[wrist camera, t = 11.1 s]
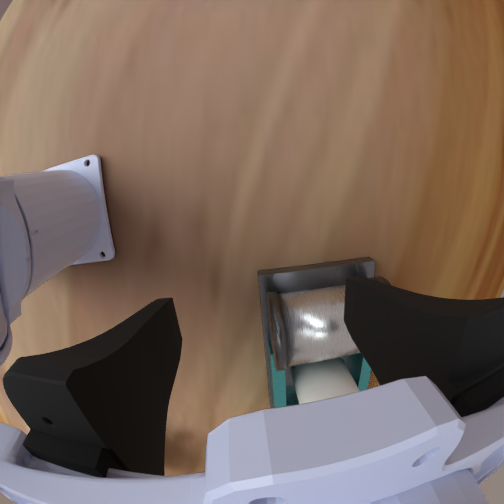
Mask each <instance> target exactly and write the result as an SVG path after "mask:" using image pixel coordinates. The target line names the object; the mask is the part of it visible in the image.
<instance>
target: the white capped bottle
mask: <svg viewBox="0 0 504 504" xmlns="http://www.w3.org/2000/svg"><path fill="white" fill-rule="evenodd" d="M292 379H293V383H294V386H295V390H296V394H297V398H298V401H299V404H303V403H309V402H314V401H319V400H324V399H329V398H334V397H338V396H343V395H347V394H351V393H355V392H359V389H358V387H357V385H356V383H355V381H354V379H353V377H352V375H351V374H350V372H349V370H348V368H347V366H346V364H345V362H344V360H343V358H342V357H339V358H334V359H329V360H323V361H318V362H313V363H307V364H301V365H295V367H294V369H293V372H292Z"/></svg>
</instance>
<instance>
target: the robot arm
mask: <svg viewBox="0 0 504 504" xmlns="http://www.w3.org/2000/svg"><path fill="white" fill-rule="evenodd" d="M88 160H90V165H89V166H87V161H88ZM102 252H104V253H105V257H104V256H103V255H102ZM114 257H115V249H114V245H113V240H112V235H111V230H110V224H109V219H108V213H107V207H106V201H105V194H104V187H103V179H102V171H101V161H100V157H99V156H98V155H90V156H87V157H83V158H80V159H77V160H73V161H70V162H67V163H64V164H61V165H58V166H55V167H52V168H49V169H47V170H44V171H40V172H30V173H21V174H12V175H4V176H0V366H1V365H2V364H3V363H4V362H5V360H6V359H7V357H8V355H9V353H10V351H11V347H12V332H11V328H10V325H9V324H11V323H12V322H13V321H14V320H15V319H16V318H18V317H19V316H20V315H21V302H22V299H24V298H25V297H26V296H28V295H29V294H30V293H32V292H33V291H34V290H36V289H37V288H38V287H40V286H41V285H42V284H44V283H45V282H47V281H48V280H49V279H51V278H52V277H54V276H55V275H56V274H58V273H59V272H61V271H62V270H64V269H65V268H66V267H68V266H69V265H75V264H83V263H91V262H99V261H107V260H111V259H113V258H114ZM344 323H345V325H346V327H347V330H348V332H349V334H350V336H351V338H352V340H353V341H354V343H355V345H356V346H357V348H358V349H359V351H360V352H361V354H362V355H363V357H364V358H365V360H366V362H367V363H368V365H369V366H370V368H371V369H372V371H373V372H374V374H375V376H376V378H377V380H378V382H379V384H380V386H377V387H373V388H370V389H366V390H362V391H359V392H355V393H351V394H347V395H343V396H338V397H334V398H329V399H324V400H319V401H314V402H309V403H303V404H298V405H291V406H285V407H278V408H270V409H263V410H259V411H255V412H251V413H248V414H244V415H240V416H236V417H232V418H230V419H228V420H226V421H225V422H224V423H222V424H221V425H220V426H218V427H217V428H215V429H214V430H213V431H211V432H210V433H208V439H207V447H206V463H205V472H200V473H193V474H185V475H176V476H164V448H165V431H166V420H167V411H168V404H169V399H170V395H171V391H172V388H173V384H174V380H175V376H176V373H177V369H178V365H179V361H180V356H181V347H182V336H181V332H180V328H179V324H178V320H177V316H176V312H175V307H174V303H173V298H162V299H157V300H155V301H153V302H151V303H150V304H148V305H147V306H145V307H144V308H142V309H141V310H140V311H138V312H137V313H135V314H134V315H132V316H131V317H129V318H128V319H126V320H125V321H123V322H121V323H120V324H118V325H117V326H115V327H114V328H112V329H110V330H108V331H106V332H105V333H103V334H101V335H99V336H96V337H94V338H92V339H90V340H87V341H85V342H82V343H80V344H77V345H74V346H72V347H69V348H65V349H62V350H58V351H54V352H50V353H46V354H40V355H34V356H27V357H20V358H19V359H17V360H16V362H15V363H14V364H13V365H12V366H11V367H10V369H9V370H8V371H7V372H6V373H5V374H4V377H3V384H4V389H5V391H6V394H7V396H8V398H9V399H10V401H11V403H12V404H13V406H14V407H15V409H16V410H17V411H18V413H19V414H20V416H21V417H22V418H23V420H24V421H25V422H26V424H27V425H28V426H29V427H30V429H31V430H30V432H29V433H28V435H26V434H25V433H24V432H23V431H21V430H19V429H17V428H15V427H12V426H10V425H8V424H5V423H3V422H1V423H0V492H1V493H3V494H4V495H5V496H6V497H8V498H9V499H10V500H12V501H13V502H14V503H15V504H489V502H488V500H487V498H486V496H485V495H484V493H483V491H482V490H481V488H480V486H479V485H480V484H481V483H482V482H484V481H485V480H486V479H487V478H489V477H490V476H491V475H492V474H494V473H495V472H496V471H497V470H498V469H499V468H500V467H502V466H503V465H504V297H503V298H494V299H485V300H457V299H446V298H438V297H433V296H427V295H422V294H418V293H414V292H411V291H407V290H403V289H400V288H397V287H394V286H391V285H388V284H385V283H382V282H379V281H376V280H372V279H369V278H365V277H360V276H358V277H351V278H346V284H345V304H344Z"/></svg>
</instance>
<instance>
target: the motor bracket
mask: <svg viewBox="0 0 504 504" xmlns="http://www.w3.org/2000/svg"><path fill="white" fill-rule="evenodd" d="M374 270H375V260H373V259H372V258H370V257H365V258H357V259H350V260H342V261H335V262H327V263H319V264H311V265H303V266H295V267H286V268H278V269H270V270H261V271H257V273H258V283H259V293H260V304H261V314H262V324H263V335H264V345H265V356H266V367H267V377H268V388H269V399H270V406H271V408H278V407H285V406H291V405H298V404H299V401H298V398H297V394H296V390H295V386H294V383H293V379H292V372H293V369H294V367H295V365H301V364H307V363H313V362H318V361H323V360H329V359H334V358H339V357H342V358H343V360H344V362H345V364H346V366H347V368H348V370H349V372H350V374H351V375H352V377H353V379H354V381H355V383H356V385H357V387H358V389H359V391H362V390H366V389H367V388H368V383H369V378H370V373H371V368H370V366H369V365H368V363H367V362H366V360H365V358H364V357H363V355H362V354H361V352H360V351H359V349H358V348H357V346H356V345H355V343H354V341H353V340H352V338H351V336H350V334H349V332H348V330H347V327H346V325H345V323H344V304H345V284H346V278H351V277H358V276H360V277H365V278H369V279H372V280H376V281H379V282H382V283H385V284H388V285H390V283H389V282H388V281H387V280H386V279H385V278H383V277H380V276H378V277H374Z"/></svg>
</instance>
